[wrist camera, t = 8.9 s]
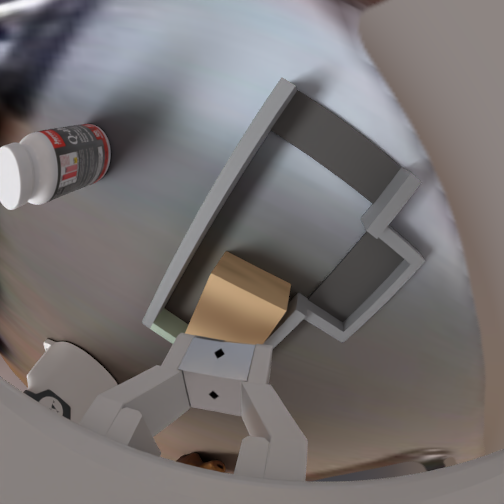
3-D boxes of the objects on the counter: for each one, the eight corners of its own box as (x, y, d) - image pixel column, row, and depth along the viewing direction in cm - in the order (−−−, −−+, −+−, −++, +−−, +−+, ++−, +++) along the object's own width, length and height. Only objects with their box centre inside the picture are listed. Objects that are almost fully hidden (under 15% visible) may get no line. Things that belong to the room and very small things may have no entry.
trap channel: (279, 384, 29) (275, 402, 27) (153, 308, 28) (141, 322, 26) (450, 215, 18) (463, 226, 16) (285, 83, 17) (281, 77, 15)
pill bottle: (115, 123, 21) (24, 137, 12) (112, 186, 23) (29, 224, 14) (72, 123, 21) (-12, 139, 13) (70, 179, 24) (-7, 211, 15)
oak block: (256, 336, 27) (247, 365, 24) (200, 308, 27) (184, 334, 23) (291, 282, 24) (286, 310, 20) (226, 249, 24) (211, 272, 20)
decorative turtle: (169, 456, 47) (155, 484, 40) (198, 436, 41) (182, 472, 34) (209, 476, 47) (198, 504, 40) (245, 459, 41) (235, 495, 34)
